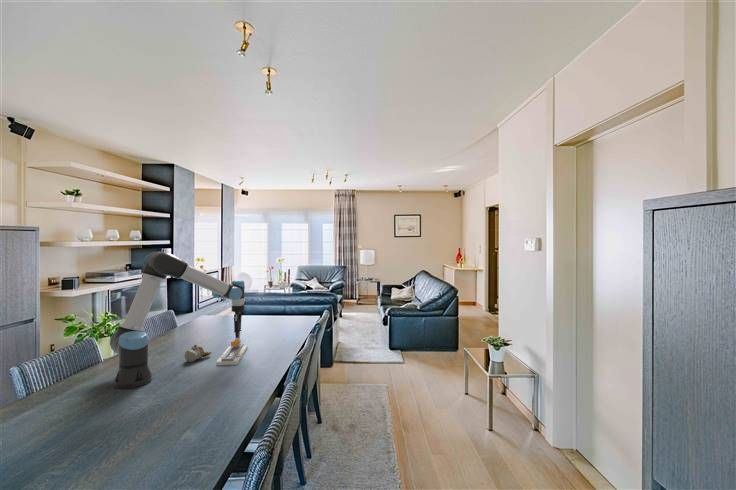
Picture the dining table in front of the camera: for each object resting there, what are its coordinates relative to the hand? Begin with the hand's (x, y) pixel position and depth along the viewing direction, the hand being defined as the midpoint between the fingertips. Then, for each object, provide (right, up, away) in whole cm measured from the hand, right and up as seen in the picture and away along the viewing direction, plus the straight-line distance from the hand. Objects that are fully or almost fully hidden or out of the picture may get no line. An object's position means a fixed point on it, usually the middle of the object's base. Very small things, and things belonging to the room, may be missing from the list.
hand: (237, 342), depth 221 cm
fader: (+1, -3, -6) cm, 6 cm away
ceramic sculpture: (-17, -5, -18) cm, 26 cm away
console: (+2, -5, -12) cm, 13 cm away
